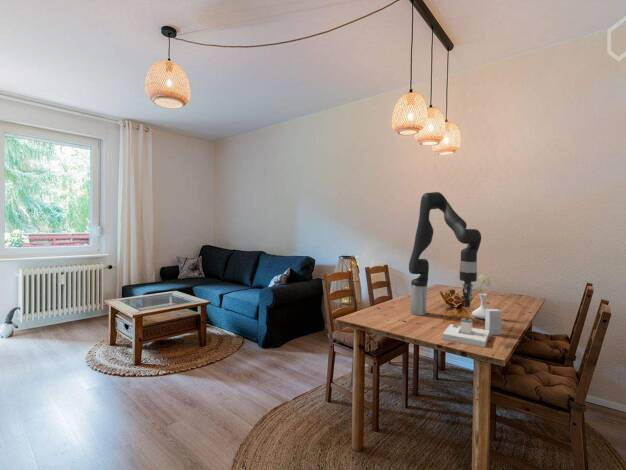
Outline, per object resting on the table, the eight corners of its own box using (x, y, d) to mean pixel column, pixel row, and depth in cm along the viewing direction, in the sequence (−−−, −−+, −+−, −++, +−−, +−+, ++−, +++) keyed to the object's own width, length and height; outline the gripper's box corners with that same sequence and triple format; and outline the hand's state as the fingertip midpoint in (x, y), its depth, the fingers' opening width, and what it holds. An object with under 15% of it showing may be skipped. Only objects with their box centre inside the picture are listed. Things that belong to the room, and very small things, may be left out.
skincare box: (496, 332, 169) (496, 308, 168) (501, 335, 164) (502, 311, 164) (484, 332, 168) (485, 308, 168) (489, 335, 164) (489, 311, 164)
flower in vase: (496, 321, 187) (498, 277, 186) (474, 319, 190) (476, 276, 189) (489, 314, 200) (490, 273, 199) (468, 313, 202) (470, 272, 201)
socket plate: (450, 329, 173) (450, 323, 172) (489, 335, 163) (489, 329, 163) (442, 339, 158) (442, 332, 157) (484, 347, 148) (485, 340, 148)
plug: (461, 334, 163) (462, 316, 163) (472, 335, 161) (472, 318, 160) (460, 336, 160) (460, 318, 159) (470, 338, 157) (471, 320, 157)
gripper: (462, 268, 167) (461, 302, 167) (457, 271, 155) (456, 308, 156) (478, 269, 162) (477, 305, 163) (474, 273, 151) (473, 311, 152)
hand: (467, 306), depth 159 cm, fingers closed
